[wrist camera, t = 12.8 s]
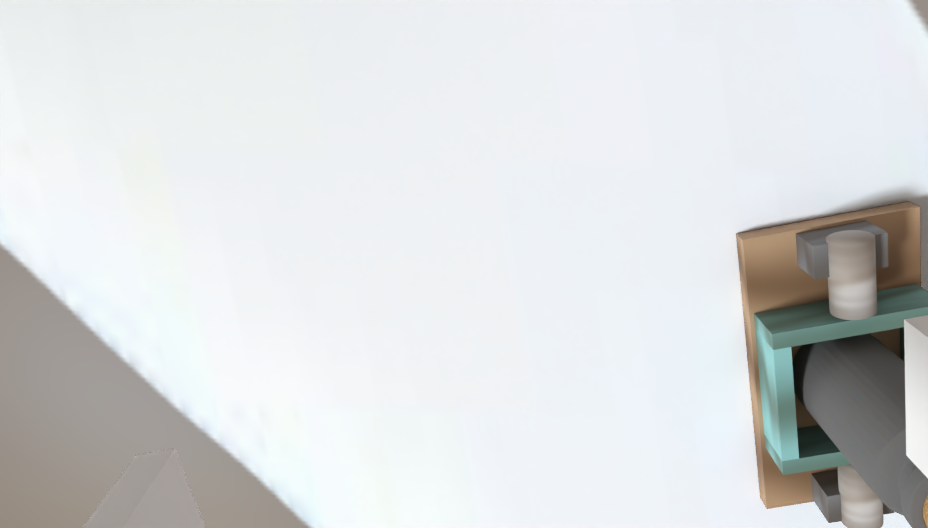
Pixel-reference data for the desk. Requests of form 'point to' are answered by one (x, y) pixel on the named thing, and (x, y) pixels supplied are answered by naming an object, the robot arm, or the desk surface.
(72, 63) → the desk surface
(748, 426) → the desk surface
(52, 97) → the desk surface
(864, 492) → the block
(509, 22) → the desk surface
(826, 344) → the bottle
